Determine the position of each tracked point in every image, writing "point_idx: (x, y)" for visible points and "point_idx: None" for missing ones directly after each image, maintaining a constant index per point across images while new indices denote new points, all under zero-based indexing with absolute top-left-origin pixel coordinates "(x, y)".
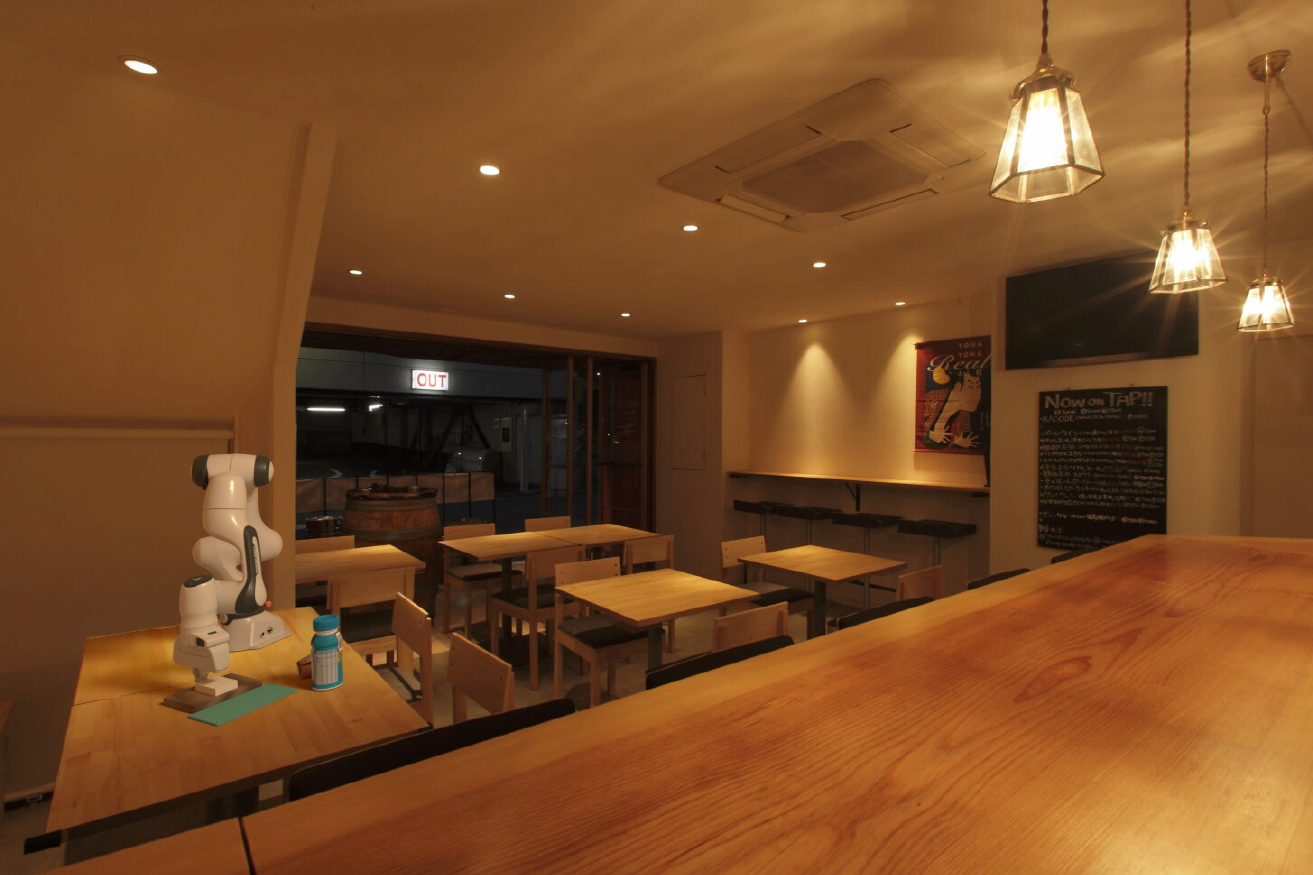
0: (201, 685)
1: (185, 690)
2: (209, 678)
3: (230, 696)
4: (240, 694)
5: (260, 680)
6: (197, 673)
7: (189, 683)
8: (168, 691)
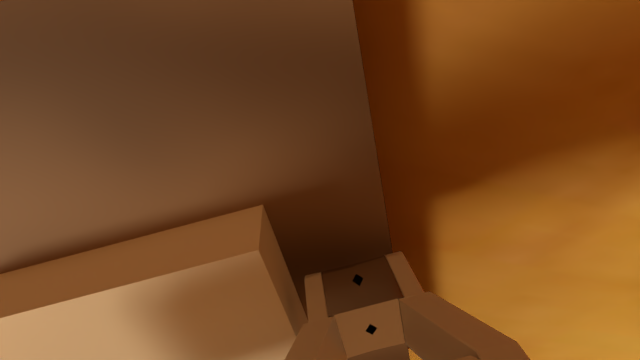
0: (138, 281)
1: (349, 151)
2: None
3: None
4: None
5: None
6: (427, 336)
7: (576, 208)
8: (594, 74)
